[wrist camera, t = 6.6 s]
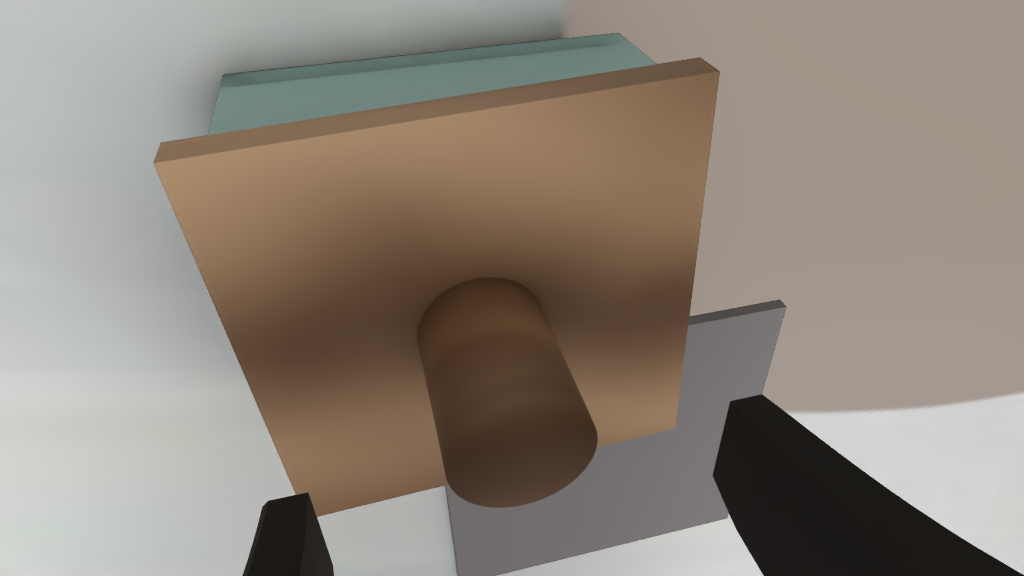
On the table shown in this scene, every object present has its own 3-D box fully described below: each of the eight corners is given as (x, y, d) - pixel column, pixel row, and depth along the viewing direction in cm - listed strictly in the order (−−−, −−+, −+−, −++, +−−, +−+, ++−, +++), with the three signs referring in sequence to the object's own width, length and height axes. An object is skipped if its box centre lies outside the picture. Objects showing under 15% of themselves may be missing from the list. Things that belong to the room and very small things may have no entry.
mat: (722, 510, 30) (727, 518, 30) (458, 575, 28) (459, 584, 28) (779, 299, 23) (786, 306, 23) (429, 365, 21) (431, 374, 21)
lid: (663, 407, 19) (740, 542, 16) (306, 493, 18) (308, 662, 14) (699, 57, 13) (839, 155, 10) (161, 142, 12) (105, 293, 8)
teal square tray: (599, 321, 22) (642, 400, 19) (309, 375, 20) (311, 469, 17) (618, 32, 16) (682, 84, 14) (222, 75, 15) (205, 143, 12)
